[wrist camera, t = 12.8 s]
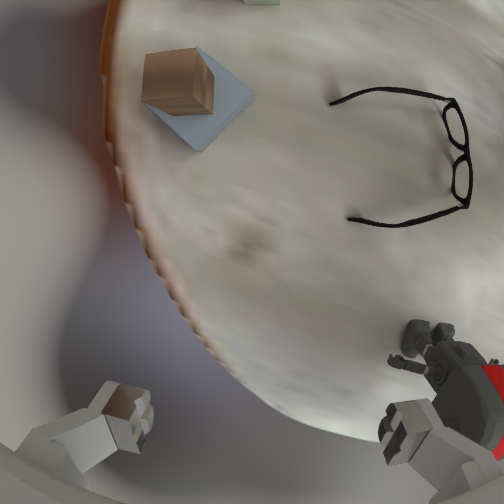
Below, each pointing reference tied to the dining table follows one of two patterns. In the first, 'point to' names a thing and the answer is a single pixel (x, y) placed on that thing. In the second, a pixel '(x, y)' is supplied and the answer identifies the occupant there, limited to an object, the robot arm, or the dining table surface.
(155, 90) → the walnut block
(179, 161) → the dining table surface
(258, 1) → the sage block
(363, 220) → the glasses
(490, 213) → the dining table surface
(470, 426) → the toy robot
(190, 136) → the slate pedestal
